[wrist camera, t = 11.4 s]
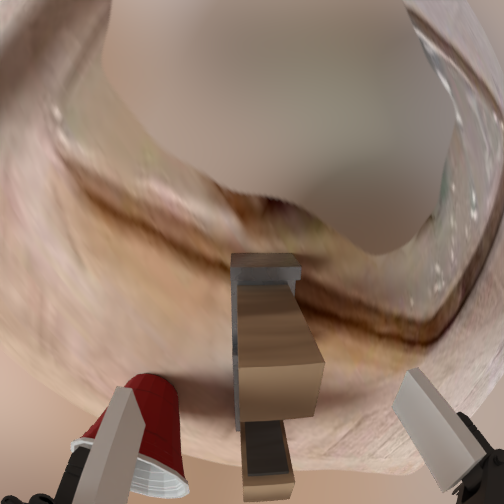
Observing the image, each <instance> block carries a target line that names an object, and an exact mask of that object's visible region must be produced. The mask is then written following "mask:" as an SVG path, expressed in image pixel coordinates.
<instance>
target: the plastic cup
mask: <svg viewBox="0 0 504 504" xmlns="http://www.w3.org/2000/svg"><path fill="white" fill-rule="evenodd" d="M125 388H132V390H133V393H134V396H135V398H136V401H137V404H138V407H139V409H140V412H141V415H142V417H143V420H144V422H145V429H144V433H143V437H142V441H141V444H140V448H139V452H138V457H137V461H136V465H135V469H134V474H133V478H132V482H131V487H130V491H132V492H135V493H139V494H142V495H146V496H151V497H158V498H167V499H168V498H181V497H183V496H185V495H187V494H189V486H188V481H187V480H186V479H185V476H184V470H183V463H182V456H181V440H180V417H179V401H178V396H177V391H176V390H175V388H174V386H173V385H172V384H170V383H169V382H168V381H167V380H165V379H163V378H161V377H159V376H157V375H152V374H147V373H146V374H138V375H136V376H135V377H133V378H132V379H131V380H130V381H128V383H127V384H126V385H125ZM107 408H108V407H107ZM107 408H106V410H107ZM106 410H105V411H104V412H103V413H102V415H101V416H100V417H99V419H98V420H97V421H96V422H95V424H94V425H92V426H91V427H90V429H89V430H88V431H87V432H85V434H84V435H83V436H82V437H80V438H79V439H76V440H74V441H73V442H71V451H72V453H73V452H74V451H75V450H76V449H77V448H78V447H79V446H81V447H85V448H88V449H91V448H92V445H93V442H94V440H95V437H96V435H97V432H98V430H99V427H100V425H101V422H102V420H103V417H104V415H105V413H106Z"/></svg>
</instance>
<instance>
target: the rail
mask: <svg viewBox="0 0 504 504" xmlns="http://www.w3.org/2000/svg"><path fill="white" fill-rule="evenodd" d="M230 269H231V303H232V344H233V349H232V357H233V375H234V401H235V423H236V431H240V406H239V373H238V331H237V285H289V287H290V289H291V291H292V293H293V295H294V296H295V282H296V280H301V265H300V264H299V263H298V261H297V260H296V258H295V257H294V256H293V254H292V253H253V254H231V267H230Z"/></svg>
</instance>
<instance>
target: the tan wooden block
mask: <svg viewBox="0 0 504 504" xmlns="http://www.w3.org/2000/svg"><path fill="white" fill-rule="evenodd" d="M237 331H238V373H239V406H240V422H250V421H271V420H285V419H296V418H305V417H313V416H314V412H315V407H316V403H317V399H318V394H319V390H320V385H321V380H322V376H323V371H324V365H325V361H324V359H323V357H322V355H321V353H320V351H319V348H318V346H317V344H316V342H315V340H314V338H313V335H312V333H311V331H310V329H309V327H308V325H307V323H306V321H305V318H304V316H303V314H302V312H301V310H300V308H299V306H298V304H297V302H296V299H295V297H294V295H293V293H292V291H291V289H290V287H289V285H237Z"/></svg>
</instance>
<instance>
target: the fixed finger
mask: <svg viewBox="0 0 504 504" xmlns="http://www.w3.org/2000/svg"><path fill="white" fill-rule="evenodd" d="M240 433H241V457H242V478H243V498H244V502H260V501H274V500H285V499H290V496H291V493H292V490H293V487H294V485H295V480H294V474H293V469H292V464H291V459H290V454H289V449H288V444H287V438H286V433H285V428H284V423H283V420H271V421H250V422H240Z"/></svg>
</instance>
